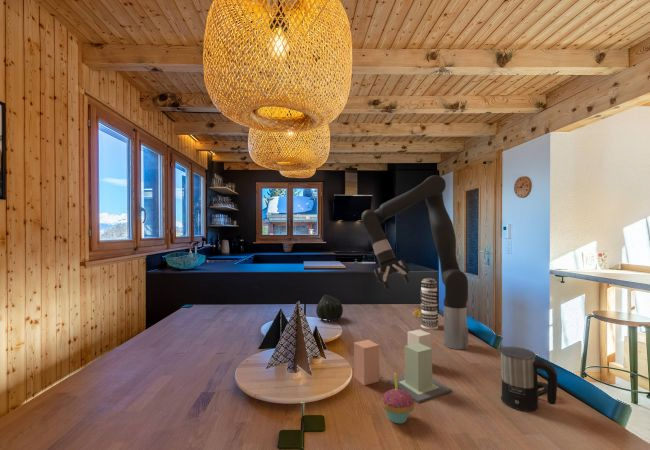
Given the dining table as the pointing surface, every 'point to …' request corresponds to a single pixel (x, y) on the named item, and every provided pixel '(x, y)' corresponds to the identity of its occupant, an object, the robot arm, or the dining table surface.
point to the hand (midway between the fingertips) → (398, 287)
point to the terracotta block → (366, 362)
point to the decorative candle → (429, 303)
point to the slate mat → (422, 394)
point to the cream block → (419, 337)
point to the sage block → (418, 366)
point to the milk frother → (525, 379)
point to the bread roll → (417, 313)
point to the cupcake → (397, 403)
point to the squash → (329, 308)
